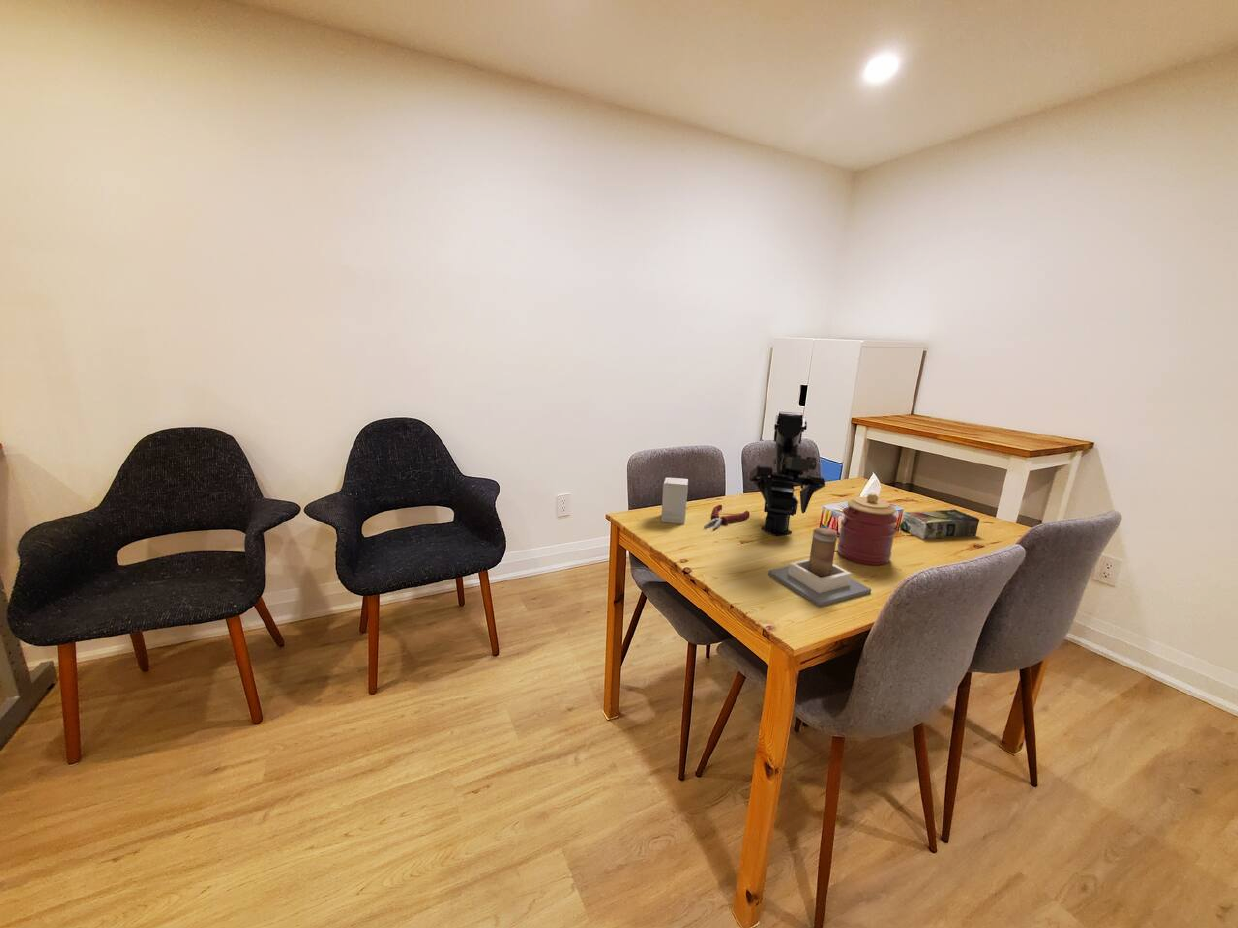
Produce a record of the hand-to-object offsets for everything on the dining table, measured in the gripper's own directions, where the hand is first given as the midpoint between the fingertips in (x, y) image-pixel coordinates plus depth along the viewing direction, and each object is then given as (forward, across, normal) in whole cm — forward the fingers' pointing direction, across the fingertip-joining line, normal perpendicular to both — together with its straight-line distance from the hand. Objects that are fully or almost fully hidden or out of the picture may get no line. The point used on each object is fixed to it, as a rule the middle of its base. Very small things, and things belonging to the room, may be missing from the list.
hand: (786, 509), depth 125 cm
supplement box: (-2, -22, +32) cm, 39 cm away
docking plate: (+18, +6, -5) cm, 20 cm away
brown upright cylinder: (+18, +6, -5) cm, 19 cm away
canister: (+7, +25, +6) cm, 27 cm away
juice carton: (-7, +58, +18) cm, 61 cm away
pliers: (-3, -7, +32) cm, 32 cm away
